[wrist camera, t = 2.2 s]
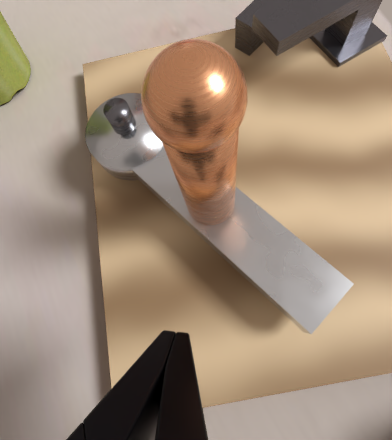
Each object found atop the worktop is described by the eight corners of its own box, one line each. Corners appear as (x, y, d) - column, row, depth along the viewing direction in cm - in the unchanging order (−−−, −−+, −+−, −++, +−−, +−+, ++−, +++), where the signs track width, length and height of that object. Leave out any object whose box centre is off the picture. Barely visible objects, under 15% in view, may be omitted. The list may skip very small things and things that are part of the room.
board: (511, 344, 17) (532, 346, 15) (121, 416, 17) (114, 424, 16) (353, 13, 24) (360, -2, 23) (89, 75, 25) (82, 64, 24)
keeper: (274, 104, 21) (286, 49, 17) (223, 43, 23) (221, -20, 19) (384, 40, 22) (423, -28, 18) (324, -14, 24) (346, -87, 20)
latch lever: (82, 148, 20) (-86, -43, 10) (137, 98, 21) (41, -132, 10) (290, 347, 16) (436, 423, 5) (353, 273, 16) (605, 189, 5)
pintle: (172, 172, 20) (156, 131, 16) (115, 184, 21) (83, 147, 16) (163, 122, 22) (146, 71, 17) (109, 134, 22) (78, 87, 17)
